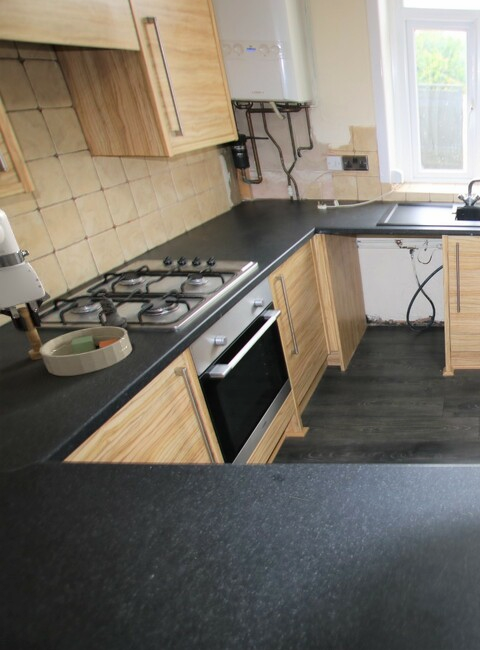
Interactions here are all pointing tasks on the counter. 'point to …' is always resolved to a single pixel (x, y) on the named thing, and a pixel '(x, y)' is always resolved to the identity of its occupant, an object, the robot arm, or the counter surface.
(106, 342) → the block orange
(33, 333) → the muddler
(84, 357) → the bowl
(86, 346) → the block green
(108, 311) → the dark grey figurine
